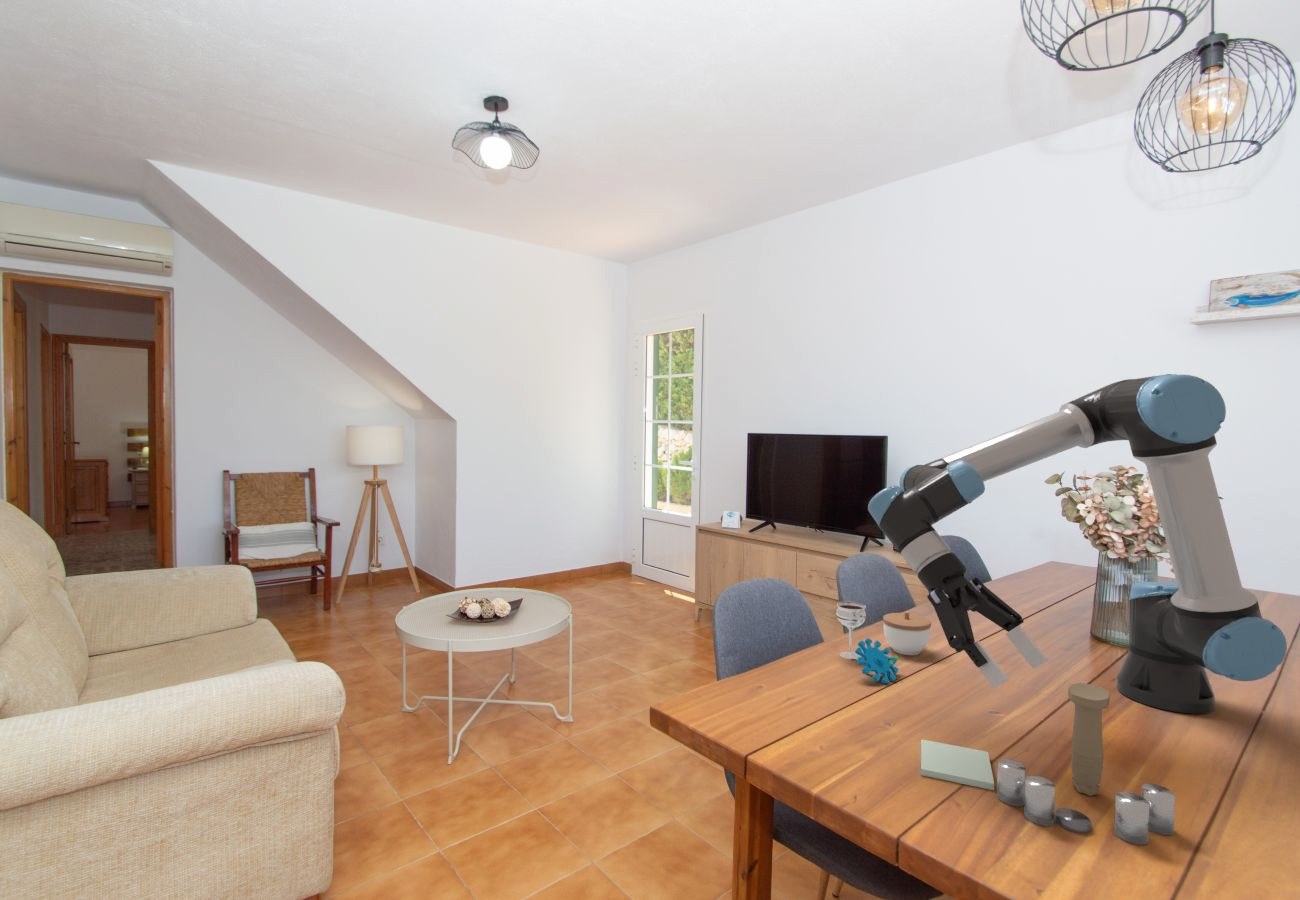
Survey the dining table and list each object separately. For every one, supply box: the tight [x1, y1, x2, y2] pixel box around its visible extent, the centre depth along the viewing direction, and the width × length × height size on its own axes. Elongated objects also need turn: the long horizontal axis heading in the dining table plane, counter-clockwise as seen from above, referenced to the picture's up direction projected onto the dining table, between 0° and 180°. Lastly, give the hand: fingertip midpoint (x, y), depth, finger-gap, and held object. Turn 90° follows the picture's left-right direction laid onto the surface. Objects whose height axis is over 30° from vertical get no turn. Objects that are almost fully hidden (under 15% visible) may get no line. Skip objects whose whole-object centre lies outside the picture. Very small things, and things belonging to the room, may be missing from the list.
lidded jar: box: [882, 611, 932, 656], centre depth 150 cm, size 11×11×9 cm
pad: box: [920, 739, 995, 791], centre depth 99 cm, size 10×10×1 cm
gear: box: [854, 638, 900, 685], centre depth 136 cm, size 11×6×10 cm
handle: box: [1067, 682, 1111, 797], centre depth 92 cm, size 5×6×15 cm
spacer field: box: [996, 758, 1176, 846], centre depth 86 cm, size 21×8×5 cm, turn 66°
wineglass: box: [835, 601, 867, 660], centre depth 147 cm, size 7×7×12 cm
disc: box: [1054, 807, 1092, 835], centre depth 85 cm, size 4×4×1 cm
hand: (1022, 674), depth 99 cm, fingers open, 13 cm apart
